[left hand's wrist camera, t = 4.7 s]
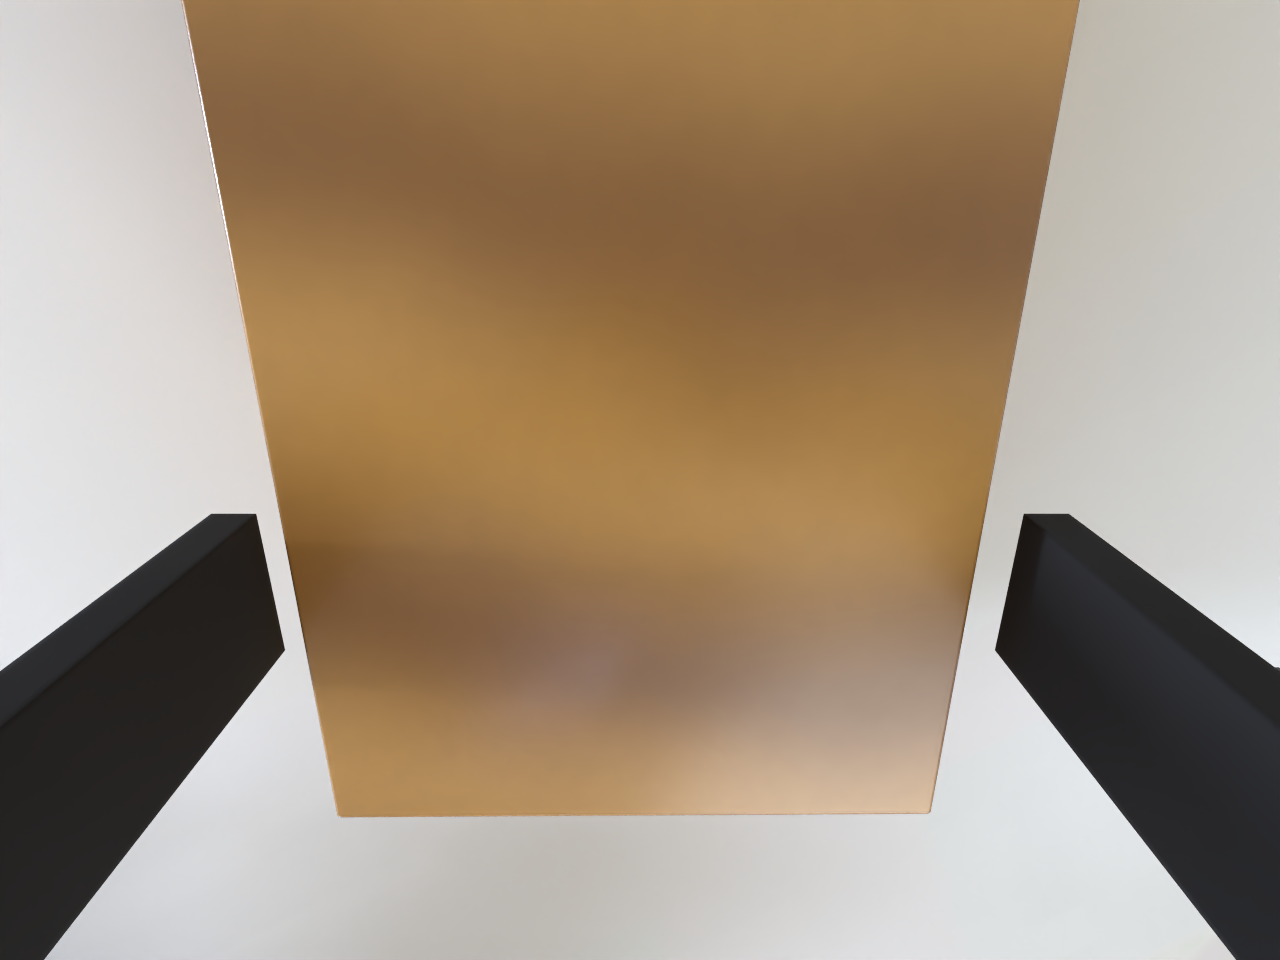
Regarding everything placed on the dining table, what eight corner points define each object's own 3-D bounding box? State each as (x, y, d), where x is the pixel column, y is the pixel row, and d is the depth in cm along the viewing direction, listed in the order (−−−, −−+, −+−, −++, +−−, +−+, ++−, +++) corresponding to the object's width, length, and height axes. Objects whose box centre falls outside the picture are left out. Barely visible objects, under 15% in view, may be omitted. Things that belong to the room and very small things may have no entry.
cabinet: (362, -376, 15) (-77, -1307, 6) (899, -372, 15) (1321, -1282, 6) (456, 569, 22) (335, 819, 13) (811, 568, 23) (932, 816, 13)
